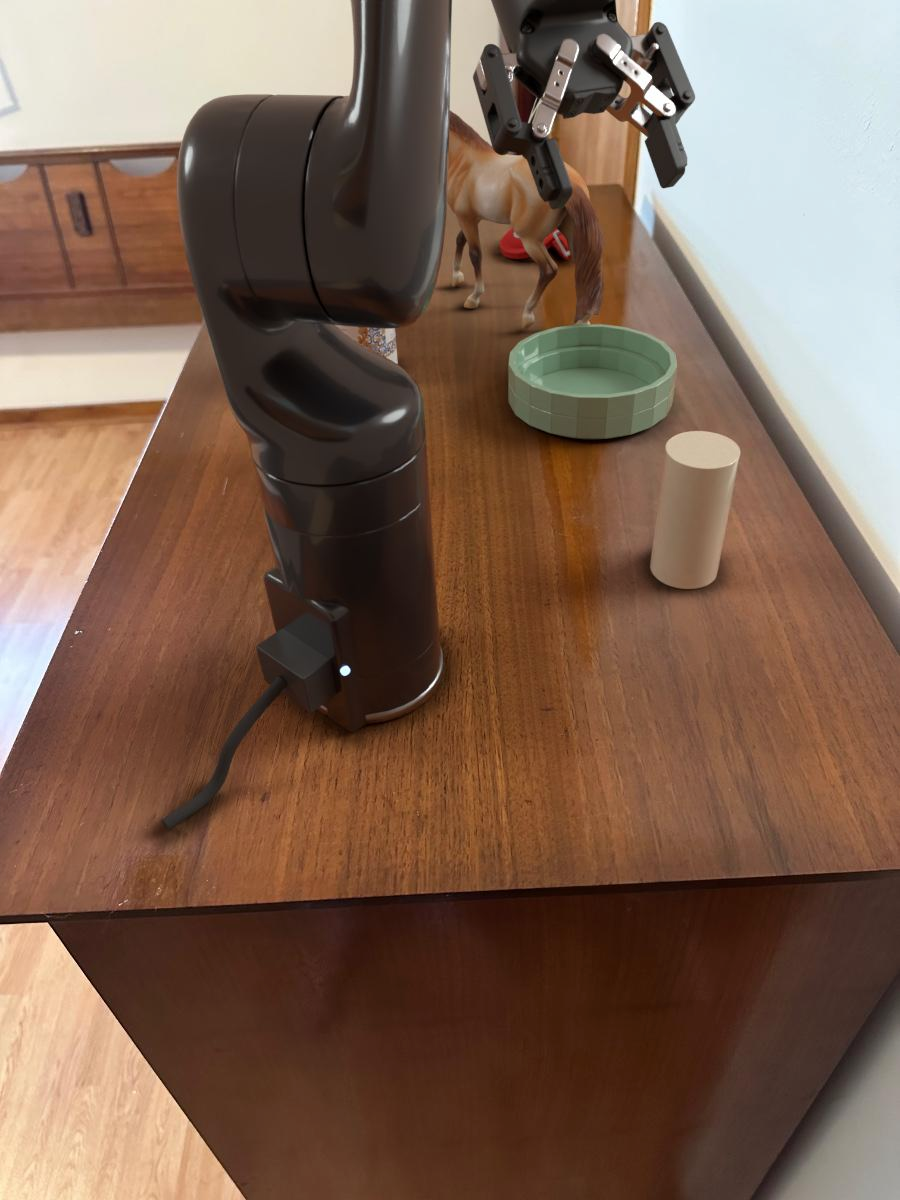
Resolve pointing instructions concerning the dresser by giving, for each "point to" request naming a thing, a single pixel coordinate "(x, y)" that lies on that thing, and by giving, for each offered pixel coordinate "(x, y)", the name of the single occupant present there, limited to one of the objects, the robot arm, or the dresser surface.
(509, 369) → the bowl
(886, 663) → the dresser surface
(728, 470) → the beige cylinder
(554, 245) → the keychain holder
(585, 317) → the horse figurine
